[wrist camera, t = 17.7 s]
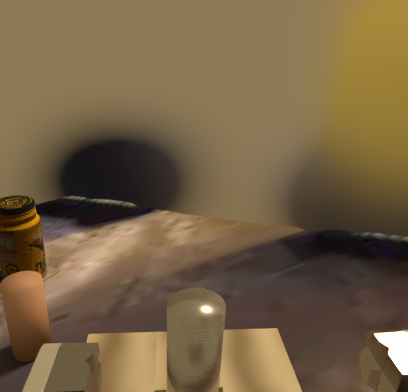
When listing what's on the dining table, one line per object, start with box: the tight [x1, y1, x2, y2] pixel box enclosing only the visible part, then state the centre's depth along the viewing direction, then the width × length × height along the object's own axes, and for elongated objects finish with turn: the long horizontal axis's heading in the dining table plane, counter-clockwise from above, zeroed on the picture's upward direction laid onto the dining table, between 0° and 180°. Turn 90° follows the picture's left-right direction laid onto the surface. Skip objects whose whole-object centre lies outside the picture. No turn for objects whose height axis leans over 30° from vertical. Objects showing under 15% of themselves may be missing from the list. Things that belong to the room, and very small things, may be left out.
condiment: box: [0, 195, 60, 298], centre depth 51 cm, size 7×8×12 cm
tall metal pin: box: [166, 288, 226, 392], centre depth 28 cm, size 4×4×16 cm
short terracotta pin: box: [0, 271, 52, 362], centre depth 39 cm, size 4×4×9 cm
